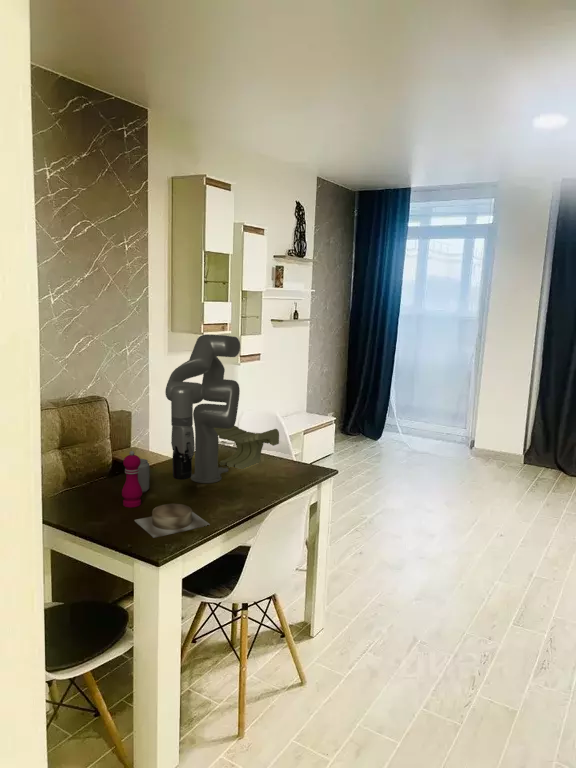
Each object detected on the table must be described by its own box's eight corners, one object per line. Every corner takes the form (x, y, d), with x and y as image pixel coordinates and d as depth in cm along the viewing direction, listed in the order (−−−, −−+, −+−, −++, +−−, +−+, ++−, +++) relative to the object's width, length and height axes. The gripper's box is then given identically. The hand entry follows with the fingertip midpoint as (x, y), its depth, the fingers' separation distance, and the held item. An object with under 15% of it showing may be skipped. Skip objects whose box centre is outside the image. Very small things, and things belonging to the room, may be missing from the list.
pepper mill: (144, 506, 216) (144, 452, 212) (124, 509, 212) (124, 454, 209) (139, 499, 222) (139, 447, 219) (119, 502, 218) (119, 449, 215)
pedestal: (188, 510, 214) (188, 497, 213) (209, 525, 201) (210, 512, 200) (134, 521, 202) (134, 508, 201) (153, 537, 189) (153, 524, 189)
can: (125, 491, 230) (125, 461, 228) (138, 486, 237) (138, 456, 235) (140, 495, 227) (140, 464, 225) (153, 489, 234) (153, 459, 232)
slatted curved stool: (278, 465, 271) (279, 427, 268) (257, 474, 258) (258, 433, 255) (226, 453, 287) (227, 417, 284) (204, 461, 274) (204, 423, 271)
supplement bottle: (193, 474, 221) (193, 442, 219) (189, 480, 214) (189, 448, 212) (174, 473, 221) (174, 442, 219) (170, 479, 215) (170, 447, 212)
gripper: (202, 425, 209) (202, 473, 212) (181, 414, 223) (181, 460, 226) (183, 428, 205) (183, 477, 208) (162, 416, 218) (162, 463, 222)
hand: (182, 468), depth 217 cm, fingers closed on supplement bottle, 6 cm apart
